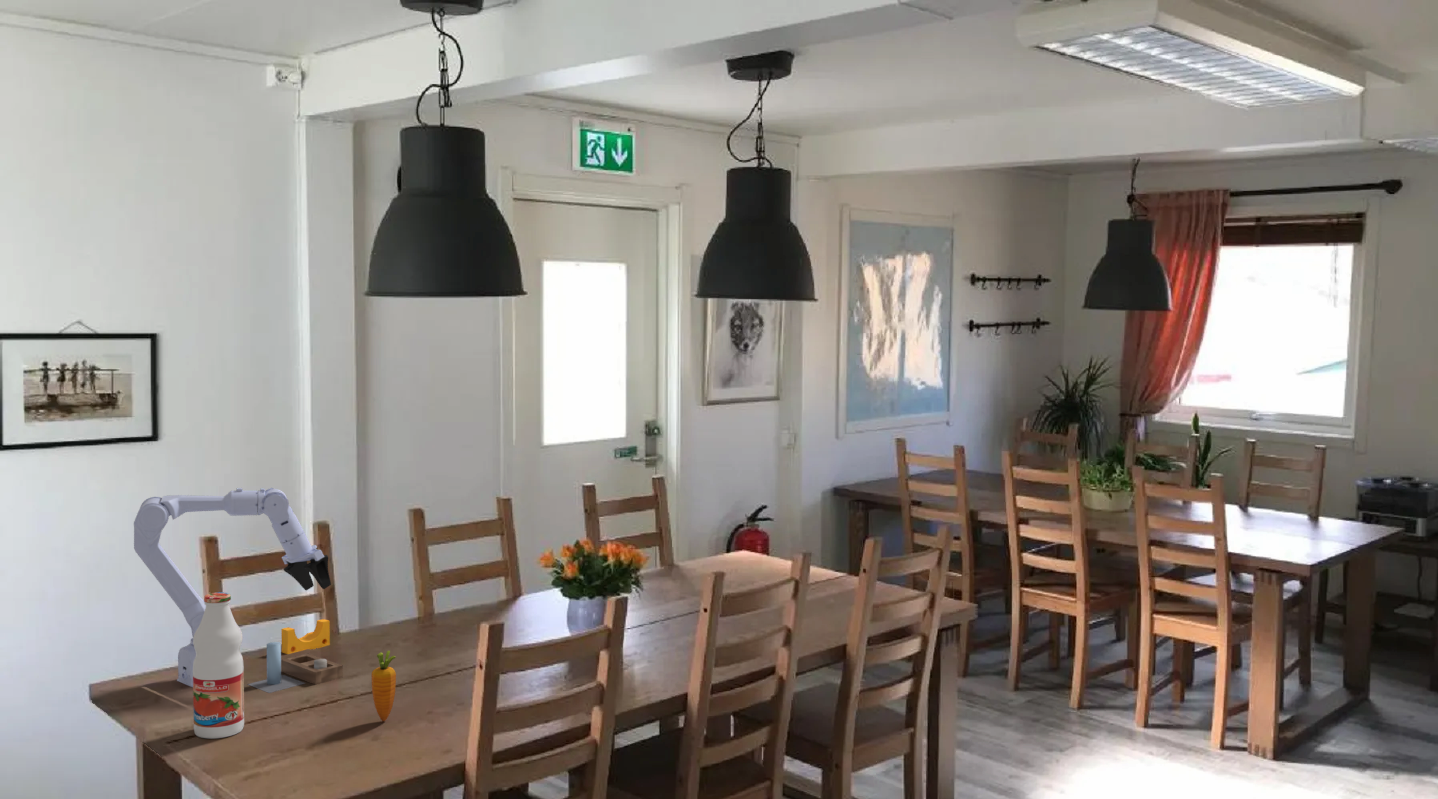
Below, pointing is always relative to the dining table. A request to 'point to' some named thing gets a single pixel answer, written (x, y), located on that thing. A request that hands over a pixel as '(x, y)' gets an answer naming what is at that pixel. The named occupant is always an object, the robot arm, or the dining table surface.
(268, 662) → the dowel
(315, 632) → the pipe clamp
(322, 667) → the hole block
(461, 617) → the dining table surface
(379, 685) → the carrot
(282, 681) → the mat
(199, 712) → the white yogurt drink bottle
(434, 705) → the dining table surface
